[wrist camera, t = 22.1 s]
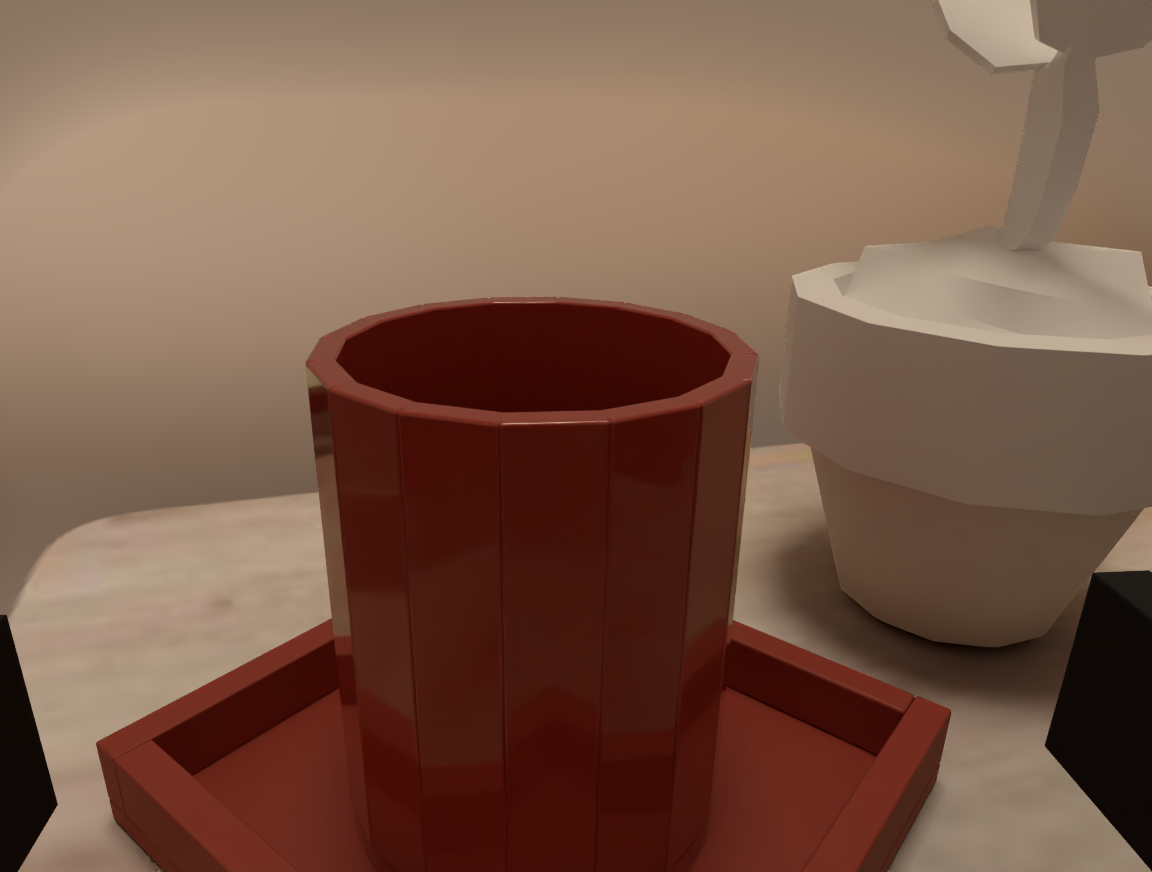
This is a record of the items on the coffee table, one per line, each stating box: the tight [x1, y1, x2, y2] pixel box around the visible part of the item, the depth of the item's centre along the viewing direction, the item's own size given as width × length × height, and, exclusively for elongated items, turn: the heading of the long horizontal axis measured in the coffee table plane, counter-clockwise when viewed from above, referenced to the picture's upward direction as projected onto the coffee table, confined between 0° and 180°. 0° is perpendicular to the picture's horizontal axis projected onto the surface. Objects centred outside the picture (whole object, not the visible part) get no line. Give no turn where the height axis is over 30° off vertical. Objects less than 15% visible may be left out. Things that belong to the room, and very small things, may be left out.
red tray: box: [96, 618, 951, 872], centre depth 19 cm, size 14×13×2 cm
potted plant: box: [779, 0, 1152, 647], centre depth 23 cm, size 13×12×25 cm
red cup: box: [305, 297, 759, 872], centre depth 17 cm, size 8×8×10 cm
